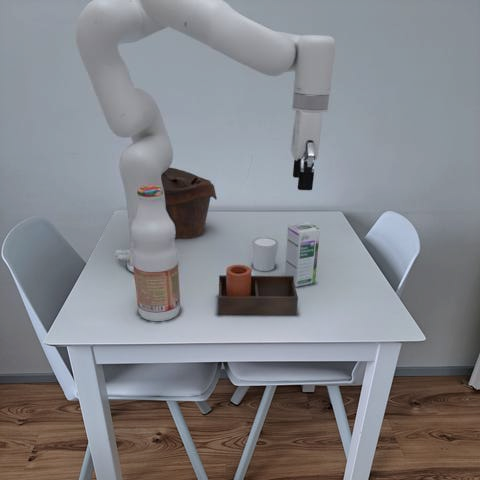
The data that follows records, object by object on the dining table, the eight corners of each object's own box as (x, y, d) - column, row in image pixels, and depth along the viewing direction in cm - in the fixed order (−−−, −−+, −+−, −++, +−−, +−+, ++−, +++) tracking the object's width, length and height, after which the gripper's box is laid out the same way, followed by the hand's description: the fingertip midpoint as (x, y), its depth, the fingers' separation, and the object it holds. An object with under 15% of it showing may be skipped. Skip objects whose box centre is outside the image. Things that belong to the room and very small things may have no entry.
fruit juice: (148, 326, 105) (136, 198, 91) (131, 307, 112) (118, 185, 98) (187, 315, 110) (182, 190, 95) (169, 297, 116) (161, 178, 102)
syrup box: (295, 287, 122) (300, 232, 114) (283, 277, 126) (287, 223, 119) (315, 283, 124) (321, 228, 117) (302, 274, 129) (307, 220, 121)
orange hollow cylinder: (226, 311, 112) (226, 275, 107) (226, 299, 116) (226, 264, 112) (250, 311, 112) (251, 275, 107) (249, 299, 116) (250, 264, 112)
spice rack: (218, 314, 110) (218, 293, 107) (219, 296, 118) (219, 275, 115) (296, 315, 111) (298, 293, 108) (292, 296, 118) (293, 275, 115)
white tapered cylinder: (274, 273, 129) (276, 248, 125) (248, 270, 130) (249, 245, 126) (278, 262, 134) (279, 238, 131) (253, 259, 136) (254, 235, 132)
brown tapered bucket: (215, 243, 145) (215, 182, 136) (147, 241, 145) (142, 180, 136) (218, 221, 160) (218, 165, 151) (157, 220, 160) (152, 164, 151)
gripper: (288, 96, 111) (282, 172, 120) (297, 108, 97) (289, 194, 106) (321, 97, 112) (312, 173, 121) (335, 110, 97) (324, 195, 106)
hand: (302, 183), depth 113 cm, fingers open, 9 cm apart
